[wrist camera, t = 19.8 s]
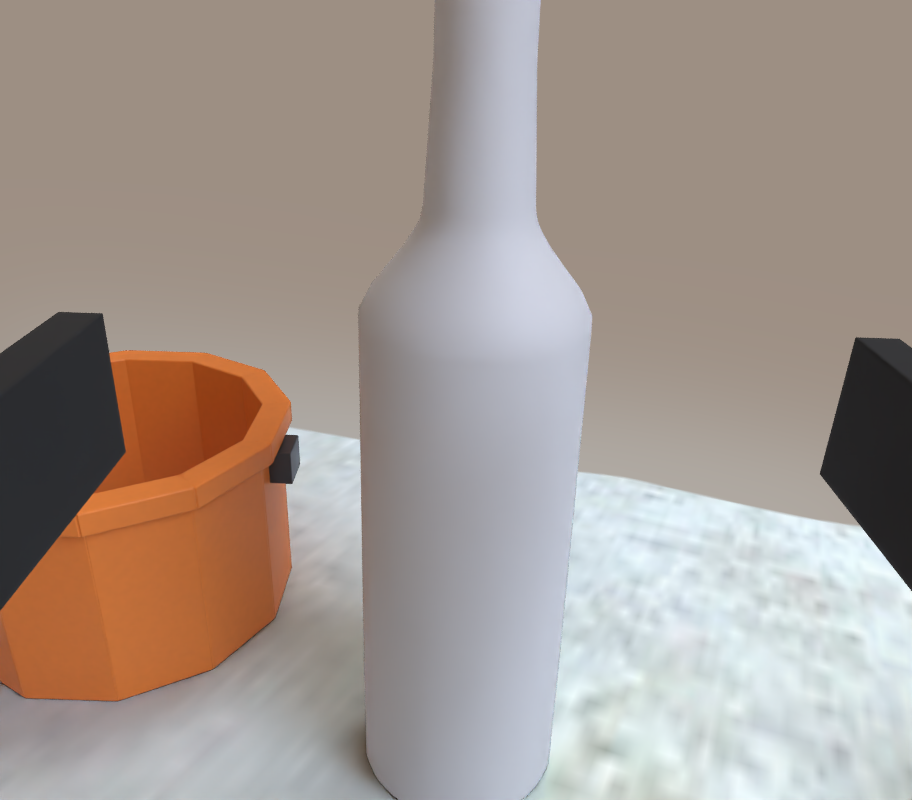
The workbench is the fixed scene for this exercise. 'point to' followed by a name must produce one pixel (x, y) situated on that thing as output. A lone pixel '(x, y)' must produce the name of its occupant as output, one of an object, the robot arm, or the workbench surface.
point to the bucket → (163, 538)
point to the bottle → (470, 438)
